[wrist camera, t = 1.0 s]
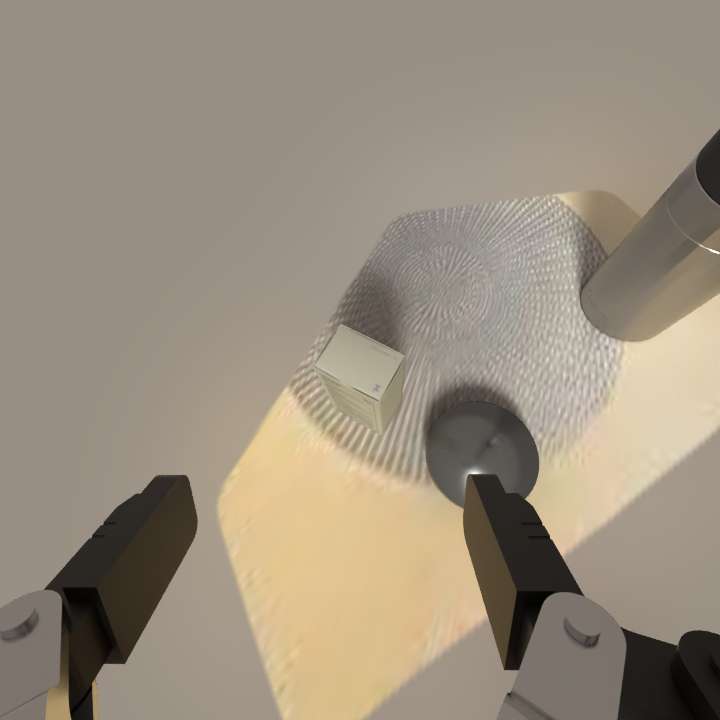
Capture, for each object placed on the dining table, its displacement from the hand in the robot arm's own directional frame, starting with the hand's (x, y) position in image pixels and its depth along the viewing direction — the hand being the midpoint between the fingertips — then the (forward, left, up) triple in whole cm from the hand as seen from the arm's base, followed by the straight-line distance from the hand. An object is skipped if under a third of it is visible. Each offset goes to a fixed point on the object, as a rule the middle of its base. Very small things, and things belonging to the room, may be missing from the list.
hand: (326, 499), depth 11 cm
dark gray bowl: (-12, -2, -27) cm, 30 cm away
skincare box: (-3, -10, -27) cm, 29 cm away
